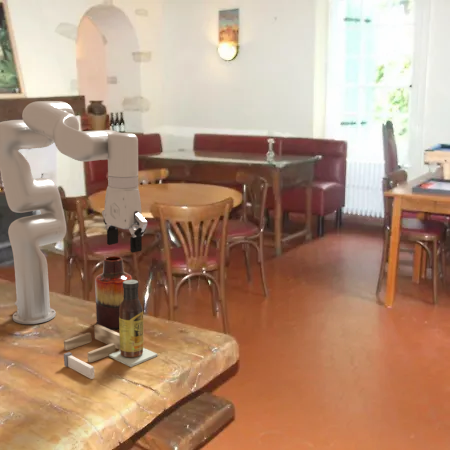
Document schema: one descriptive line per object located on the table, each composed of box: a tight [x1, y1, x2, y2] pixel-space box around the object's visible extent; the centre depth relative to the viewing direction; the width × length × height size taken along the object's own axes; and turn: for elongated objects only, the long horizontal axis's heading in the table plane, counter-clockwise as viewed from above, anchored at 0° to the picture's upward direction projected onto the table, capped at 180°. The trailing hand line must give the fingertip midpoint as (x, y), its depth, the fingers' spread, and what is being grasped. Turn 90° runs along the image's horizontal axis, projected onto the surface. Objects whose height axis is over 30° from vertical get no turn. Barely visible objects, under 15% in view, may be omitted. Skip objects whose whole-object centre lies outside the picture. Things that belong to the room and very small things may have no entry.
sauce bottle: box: [118, 279, 145, 358], centre depth 156 cm, size 7×6×20 cm
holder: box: [63, 323, 120, 363], centre depth 161 cm, size 12×11×4 cm
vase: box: [94, 255, 133, 331], centre depth 178 cm, size 11×11×20 cm
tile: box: [108, 347, 158, 368], centre depth 158 cm, size 9×9×1 cm
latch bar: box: [63, 351, 96, 380], centre depth 148 cm, size 11×2×3 cm, turn 48°
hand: (124, 247), depth 155 cm, fingers open, 9 cm apart
